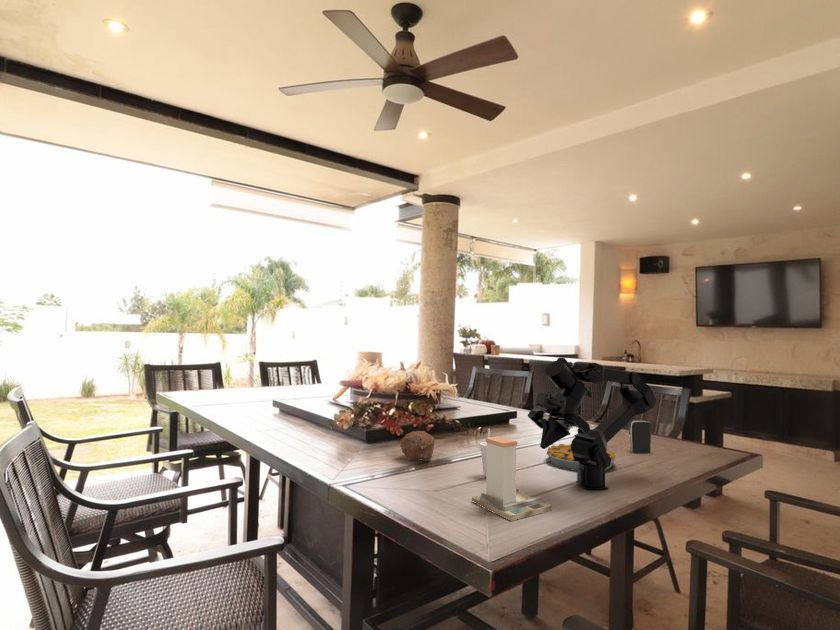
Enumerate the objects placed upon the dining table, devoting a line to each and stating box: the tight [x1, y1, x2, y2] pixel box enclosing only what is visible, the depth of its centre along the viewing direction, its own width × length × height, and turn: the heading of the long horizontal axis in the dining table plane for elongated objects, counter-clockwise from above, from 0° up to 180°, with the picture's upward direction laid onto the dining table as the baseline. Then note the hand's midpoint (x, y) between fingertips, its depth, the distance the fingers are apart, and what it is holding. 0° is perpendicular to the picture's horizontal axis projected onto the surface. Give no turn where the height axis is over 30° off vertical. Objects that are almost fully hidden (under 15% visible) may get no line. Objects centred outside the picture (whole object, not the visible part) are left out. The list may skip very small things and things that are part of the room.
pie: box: [546, 443, 617, 471], centre depth 155 cm, size 22×22×5 cm
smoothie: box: [479, 428, 491, 477], centre depth 139 cm, size 6×6×14 cm
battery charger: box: [628, 419, 652, 454], centre depth 172 cm, size 7×4×11 cm, turn 91°
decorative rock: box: [400, 430, 436, 461], centre depth 157 cm, size 13×11×10 cm
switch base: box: [471, 487, 552, 522], centre depth 115 cm, size 13×14×3 cm
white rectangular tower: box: [485, 435, 518, 506], centre depth 113 cm, size 4×6×15 cm
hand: (542, 447), depth 122 cm, fingers closed
